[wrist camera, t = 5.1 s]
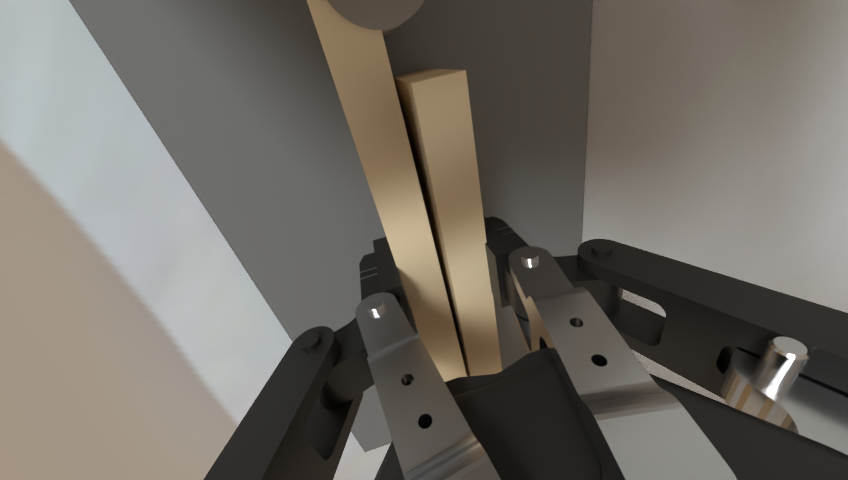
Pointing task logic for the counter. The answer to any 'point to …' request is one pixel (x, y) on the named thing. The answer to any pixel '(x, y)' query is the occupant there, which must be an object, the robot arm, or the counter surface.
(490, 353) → the bar
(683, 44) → the counter surface
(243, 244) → the mat
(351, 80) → the tongs
